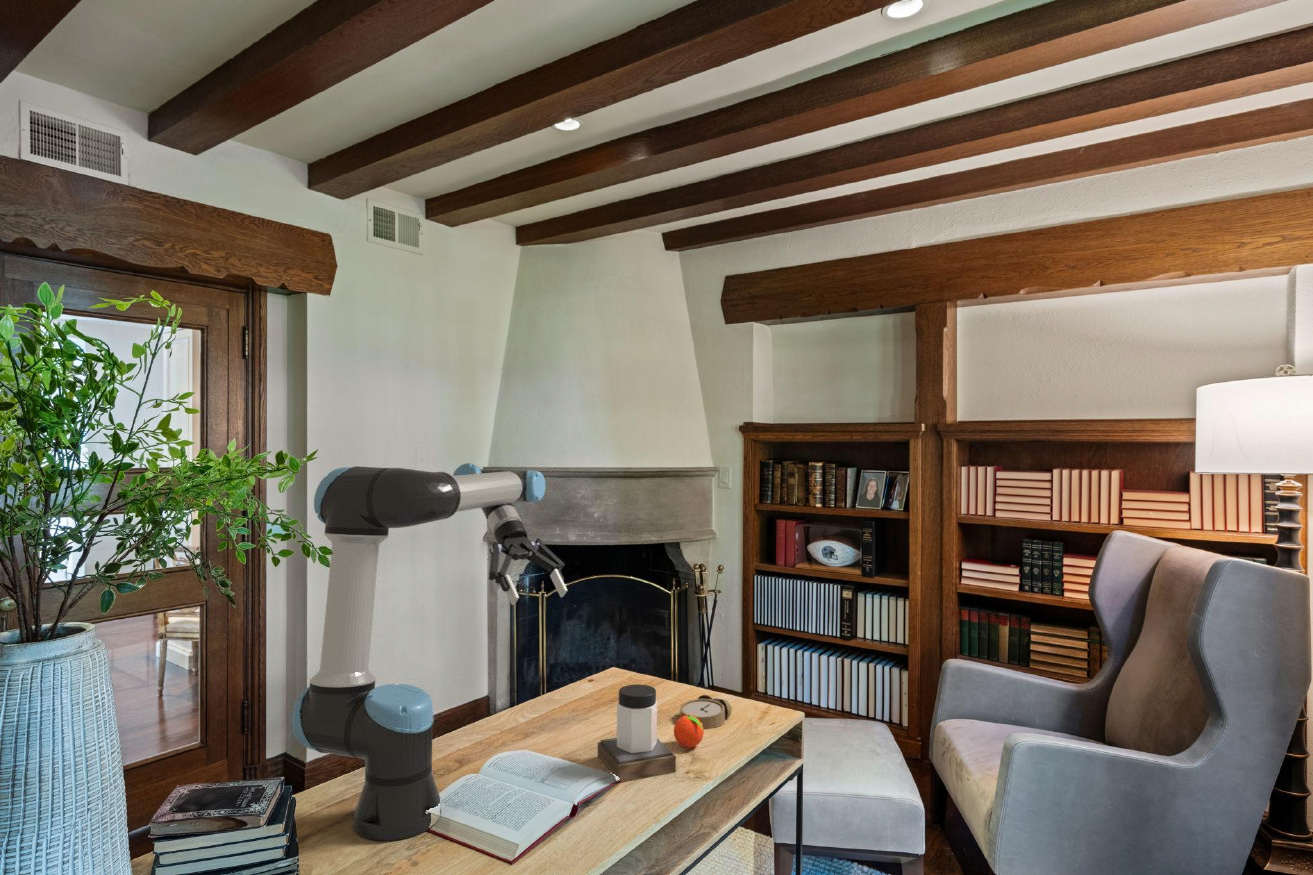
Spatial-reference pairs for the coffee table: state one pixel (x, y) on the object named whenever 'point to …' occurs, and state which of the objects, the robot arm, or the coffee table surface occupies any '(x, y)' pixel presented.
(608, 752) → the stand
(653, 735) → the jar
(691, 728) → the clementine
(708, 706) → the alarm clock
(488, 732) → the coffee table surface
